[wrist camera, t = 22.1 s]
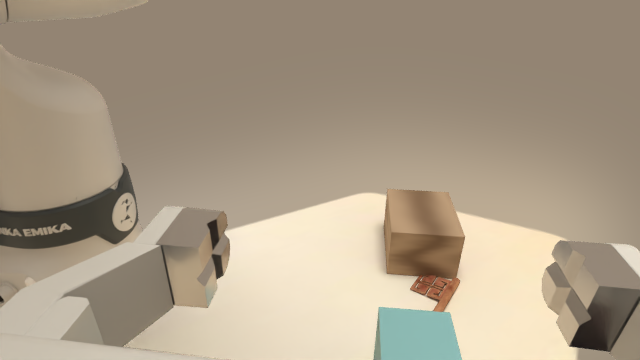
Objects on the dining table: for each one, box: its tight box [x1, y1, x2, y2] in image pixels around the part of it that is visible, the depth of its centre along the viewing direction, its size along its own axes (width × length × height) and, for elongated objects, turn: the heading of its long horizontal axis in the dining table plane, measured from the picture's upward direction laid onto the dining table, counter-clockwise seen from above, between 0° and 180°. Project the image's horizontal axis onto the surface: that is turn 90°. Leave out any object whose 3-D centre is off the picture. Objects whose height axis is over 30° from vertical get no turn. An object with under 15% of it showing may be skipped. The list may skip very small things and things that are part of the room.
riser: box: [384, 189, 465, 278], centre depth 49 cm, size 8×10×6 cm
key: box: [410, 275, 460, 312], centre depth 40 cm, size 6×1×15 cm
